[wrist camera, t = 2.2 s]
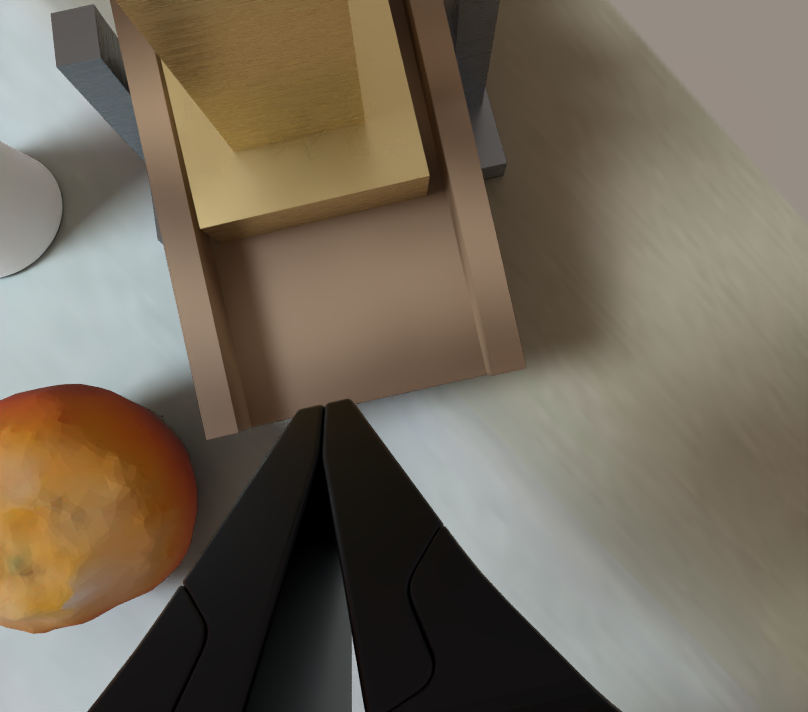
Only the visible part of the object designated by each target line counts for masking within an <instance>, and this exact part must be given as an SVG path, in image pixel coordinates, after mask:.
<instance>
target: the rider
mask: <svg viewBox="0 0 808 712" xmlns="http://www.w3.org/2000/svg"><path fill="white" fill-rule="evenodd" d="M115 1H116V2H117V3H118V5H119V6H120V7H121V9H122V10H123V11H124V12H125V14H126V15H127V16H128V17H129V19H130V20H131V21H132V23H133V24H134V25H135V26H136V28H137V29H138V30H139V32H140V33H141V34H142V35H143V37H144V38H145V39H146V40H147V42H148V43H149V44H150V46H151V47H152V48H153V49H154V51H155V52H156V53H157V54H158V56H159V57H160V58H161V63H162V67H163V71H164V75H165V80H166V84H167V88H168V93H169V97H170V101H171V106H172V110H173V114H174V119H175V123H176V127H177V132H178V136H179V140H180V145H181V149H182V153H183V158H184V162H185V166H186V171H187V175H188V179H189V184H190V188H191V192H192V197H193V201H194V205H195V210H196V214H197V218H198V223H199V227H200V229H201V230H202V231H204V232H205V233H207V234H208V235H210V236H211V237H213V238H214V239H216V240H217V241H219V242H220V243H222V244H223V243H227V242H231V241H236V240H240V239H244V238H248V237H253V236H257V235H261V234H266V233H270V232H274V231H279V230H283V229H287V228H292V227H296V226H300V225H304V224H309V223H313V222H317V221H322V220H326V219H330V218H335V217H339V216H343V215H348V214H352V213H356V212H361V211H365V210H369V209H373V208H378V207H382V206H386V205H391V204H395V203H399V202H404V201H408V200H412V199H417V198H421V197H425V196H427V189H428V183H429V177H430V175H429V171H428V167H427V162H426V158H425V154H424V150H423V146H422V141H421V137H420V133H419V129H418V124H417V120H416V116H415V112H414V108H413V103H412V99H411V95H410V91H409V86H408V82H407V78H406V74H405V69H404V65H403V61H402V57H401V53H400V48H399V44H398V40H397V36H396V31H395V27H394V23H393V19H392V15H391V10H390V6H389V2H388V0H115Z"/></svg>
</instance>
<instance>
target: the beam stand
mask: <svg viewBox="0 0 808 712" xmlns="http://www.w3.org/2000/svg"><path fill="white" fill-rule="evenodd" d="M499 2H500V0H444V7H445V11H446V16H447V20H448V24H449V29H450V33H451V38H452V42H453V46H454V51H455V55H456V60H457V64H458V69H459V73H460V77H461V82H462V86H463V91H464V95H465V99H466V104H467V108H468V113H469V117H470V121H471V126H472V130H473V135H474V139H475V144H476V148H477V152H478V157H479V161H480V166H481V170H482V174H483V179H488V178H493V177H497V176H502V175H504V172H505V168H506V165H507V161H506V158H505V154H504V151H503V147H502V144H501V140H500V137H499V133H498V130H497V126H496V123H495V119H494V115H493V112H492V108H491V105H490V101H489V98H488V94H487V91H486V87H485V86H486V80H487V74H488V68H489V62H490V56H491V50H492V44H493V38H494V32H495V26H496V20H497V14H498V8H499ZM51 21H52V30H53V39H54V48H55V58H56V67H57V68H58V69H59V70H60V71H61V72H62V73H63V75H64V76H65V77H66V78H67V79H68V80H69V81H70V82H71V83H72V84H73V85H74V86H75V88H76V89H77V90H78V91H79V92H80V93H81V94H82V95H83V96H84V97H85V98H86V99H87V101H88V102H89V103H90V104H91V105H92V106H93V107H94V108H95V109H96V110H97V111H98V112H99V114H100V115H101V116H102V117H103V118H104V119H105V120H106V121H107V122H108V123H109V124H110V125H111V127H112V128H113V129H114V130H115V131H116V132H117V133H118V134H119V135H120V136H121V137H122V138H123V140H124V141H125V142H126V143H127V144H128V145H129V146H130V147H131V148H132V149H133V150H134V151H135V152H136V154H137V155H138V156H139V157H140V158H141V159H142V160H143V161H144V162H145V158H144V154H143V149H142V145H141V140H140V135H139V131H138V126H137V122H136V117H135V113H134V108H133V104H132V99H131V94H130V90H129V85H128V81H127V76H126V72H125V67H124V62H123V58H122V53H121V49H120V44H119V40H118V38H117V36H116V35H115V33H114V32H113V31H112V29H111V28H110V26H109V25H108V24H107V22H106V21H105V19H104V18H103V17H102V15H101V14H100V12H99V11H98V10H97V8H96V7H95V5H94V4H93V5H88V6H83V7H79V8H74V9H70V10H65V11H60V12H56V13H51ZM150 187H151V186H150ZM151 195H152V190H151ZM152 202H153V209H154V216H155V223H156V230H157V237H158V240H159V241H160V242H161V243H162V244H163V240H162V236H161V231H160V227H159V222H158V218H157V213H156V208H155V204H154V199H153V195H152Z"/></svg>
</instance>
